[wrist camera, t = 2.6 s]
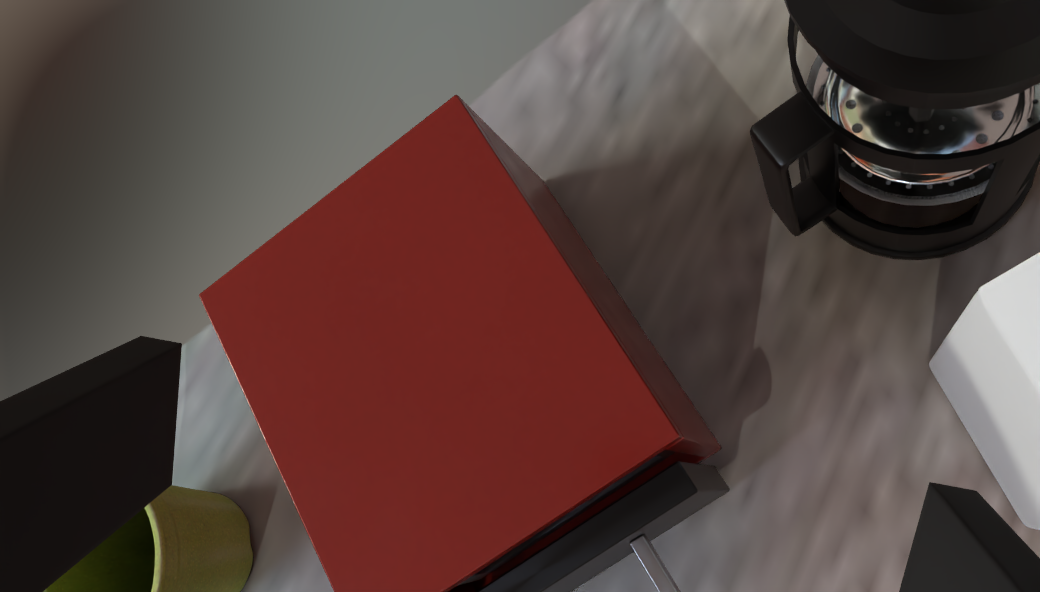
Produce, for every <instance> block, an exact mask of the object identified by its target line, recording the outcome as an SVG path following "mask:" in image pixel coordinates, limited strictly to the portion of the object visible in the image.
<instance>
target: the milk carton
mask: <svg viewBox="0 0 1040 592" xmlns="http://www.w3.org/2000/svg"><path fill="white" fill-rule="evenodd" d="M929 366H930V369H931V371H932V373H933V374H934V376H935V378H936V380H937V381H938V383H939V385H940V386H941V388H942V390H943V391H944V393H945V395H946V396H947V398H948V400H949V401H950V403H951V405H952V406H953V408H954V410H955V411H956V413H957V415H958V416H959V418H960V420H961V421H962V423H963V425H964V426H965V428H966V430H967V431H968V433H969V435H970V436H971V438H972V440H973V442H974V443H975V445H976V447H977V448H978V450H979V452H980V453H981V455H982V457H983V458H984V460H985V462H986V463H987V465H988V467H989V468H990V470H991V472H992V473H993V475H994V477H995V478H996V480H997V482H998V483H999V485H1000V487H1001V488H1002V490H1003V492H1004V493H1005V495H1006V497H1007V498H1008V500H1009V502H1010V503H1011V505H1012V507H1013V508H1014V510H1015V512H1016V513H1017V515H1018V516H1019V518H1020V519H1021V521H1022V522H1023V524H1024V525H1025V526H1027V527H1029V528H1033V529H1037V530H1040V252H1039V253H1038V254H1036V255H1034V256H1032V257H1031V258H1029V259H1027V260H1026V261H1024V262H1022V263H1020V264H1019V265H1017V266H1015V267H1014V268H1012V269H1010V270H1008V271H1007V272H1005V273H1003V274H1002V275H1000V276H998V277H997V278H995V279H993V280H991V281H990V282H988V283H986V284H985V285H983V286H981V287H980V288H979V290H978V291H977V293H976V294H975V295H974V296H973V298H972V299H971V301H970V302H969V304H968V305H967V307H966V308H965V310H964V311H963V313H962V314H961V316H960V317H959V319H958V320H957V322H956V323H955V325H954V326H953V328H952V329H951V331H950V332H949V334H948V335H947V337H946V338H945V339H944V341H943V342H942V344H941V345H940V347H939V348H938V350H937V351H936V353H935V354H934V356H933V357H932V359H931V360H930V362H929Z"/></svg>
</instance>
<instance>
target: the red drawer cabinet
mask: <svg viewBox="0 0 1040 592" xmlns="http://www.w3.org/2000/svg"><path fill="white" fill-rule="evenodd" d="M199 296H200V299H201V301H202V303H203V305H204V307H205V309H206V312H207V314H208V316H209V318H210V320H211V323H212V325H213V327H214V329H215V331H216V334H217V336H218V338H219V340H220V342H221V345H222V347H223V349H224V351H225V353H226V356H227V358H228V360H229V362H230V364H231V367H232V369H233V371H234V373H235V375H236V378H237V380H238V382H239V384H240V386H241V388H242V391H243V393H244V395H245V397H246V399H247V402H248V404H249V406H250V408H251V410H252V413H253V415H254V417H255V419H256V421H257V424H258V426H259V428H260V430H261V432H262V434H263V437H264V439H265V441H266V443H267V445H268V448H269V450H270V452H271V454H272V456H273V459H274V461H275V463H276V465H277V467H278V470H279V472H280V474H281V476H282V478H283V481H284V483H285V485H286V487H287V489H288V491H289V494H290V496H291V498H292V500H293V502H294V505H295V507H296V509H297V511H298V513H299V516H300V518H301V520H302V522H303V524H304V527H305V529H306V531H307V533H308V535H309V538H310V540H311V542H312V544H313V546H314V548H315V551H316V553H317V555H318V557H319V559H320V562H321V564H322V566H323V568H324V570H325V573H326V575H327V577H328V579H329V581H330V584H331V586H332V588H333V590H334V592H476V591H478V590H480V589H481V588H483V587H484V586H486V585H487V584H489V583H490V582H492V581H493V580H495V579H497V578H498V577H500V576H501V575H503V574H504V573H506V572H507V571H509V570H510V569H512V568H513V567H515V566H517V565H518V564H520V563H521V562H523V561H524V560H526V559H527V558H529V557H530V556H532V555H533V554H535V553H537V552H538V551H540V550H541V549H543V548H544V547H546V546H547V545H549V544H550V543H552V542H553V541H555V540H557V539H558V538H560V537H561V536H563V535H564V534H566V533H567V532H569V531H570V530H572V529H574V528H575V527H577V526H578V525H580V524H581V523H583V522H584V521H586V520H587V519H589V518H590V517H592V516H594V515H595V514H597V513H598V512H600V511H601V510H603V509H604V508H606V507H607V506H609V505H610V504H612V503H614V502H615V501H617V500H618V499H620V498H621V497H623V496H624V495H626V494H627V493H629V492H630V491H632V490H634V489H635V488H637V487H638V486H640V485H641V484H643V483H644V482H646V481H647V480H649V479H651V478H652V477H654V476H655V475H657V474H658V473H660V472H661V471H663V470H664V469H666V468H667V467H669V466H671V465H672V464H674V463H675V462H677V461H680V462H687V463H695V464H699V463H701V462H702V461H704V460H705V459H707V458H708V457H710V456H711V455H713V454H714V453H716V452H718V451H719V450H721V449H722V447H721V446H720V444H719V443H718V441H717V440H716V438H715V437H714V435H713V434H712V432H711V431H710V429H709V428H708V426H707V425H706V423H705V422H704V420H703V419H702V417H701V416H700V414H699V413H698V411H697V410H696V408H695V407H694V405H693V404H692V402H691V401H690V399H689V398H688V396H687V395H686V393H685V392H684V390H683V389H682V387H681V386H680V384H679V383H678V381H677V380H676V378H675V377H674V375H673V374H672V372H671V371H670V370H669V368H668V367H667V365H666V364H665V362H664V361H663V359H662V358H661V356H660V355H659V353H658V352H657V350H656V349H655V347H654V346H653V344H652V343H651V341H650V340H649V338H648V337H647V335H646V334H645V332H644V331H643V329H642V328H641V326H640V325H639V323H638V322H637V320H636V319H635V317H634V316H633V314H632V313H631V311H630V310H629V308H628V307H627V305H626V304H625V302H624V301H623V299H622V298H621V296H620V295H619V293H618V292H617V290H616V289H615V287H614V286H613V284H612V283H611V281H610V280H609V278H608V277H607V275H606V274H605V272H604V271H603V269H602V268H601V266H600V265H599V263H598V262H597V260H596V259H595V257H594V256H593V255H592V253H591V252H590V250H589V249H588V247H587V246H586V244H585V243H584V241H583V240H582V238H581V237H580V235H579V234H578V232H577V231H576V229H575V228H574V226H573V225H572V223H571V222H570V220H569V219H568V217H567V216H566V214H565V213H564V211H563V210H562V208H561V207H560V205H559V204H558V202H557V201H556V199H555V198H554V196H553V195H552V193H551V192H550V190H549V189H548V187H547V186H546V184H545V183H544V181H543V180H542V179H541V178H540V177H539V176H538V175H537V174H536V173H535V172H534V171H533V170H532V169H531V168H530V167H529V166H528V165H527V164H526V163H525V162H524V161H523V160H522V159H521V158H520V157H519V156H518V155H517V154H516V153H515V152H514V151H513V150H512V149H511V148H510V147H509V146H508V145H507V144H506V143H505V142H504V141H503V140H502V139H501V138H500V137H499V136H498V135H497V134H496V133H495V132H494V131H493V130H492V129H491V128H490V127H489V126H488V125H487V124H486V123H485V122H484V121H483V120H482V119H481V118H480V117H479V116H478V115H477V114H476V113H475V112H474V111H473V110H472V109H471V108H470V107H469V106H468V105H467V104H466V103H465V102H463V100H462V99H461V98H460V97H459V96H457V95H455V96H454V97H452V98H451V99H450V100H448V101H447V102H446V103H444V104H443V105H442V106H441V107H439V108H438V109H437V110H435V111H434V112H433V113H432V114H430V115H429V116H428V117H426V118H425V119H424V120H423V121H421V122H420V123H419V124H418V125H416V126H415V127H414V128H412V129H411V130H410V131H409V132H407V133H406V134H405V135H403V136H402V137H401V138H400V139H398V140H397V141H396V142H394V143H393V144H392V145H391V146H390V147H388V148H387V149H385V150H384V151H383V152H382V153H380V154H379V155H378V156H376V157H375V158H374V159H373V160H371V161H370V162H369V163H367V164H366V165H365V166H364V167H362V168H361V169H360V170H358V171H357V172H356V173H355V174H353V175H352V176H351V177H350V178H348V179H347V180H346V181H344V182H343V183H342V184H340V185H339V186H338V187H337V188H335V189H334V190H333V191H331V192H330V193H329V194H328V195H326V196H325V197H324V198H322V199H321V200H320V201H319V202H317V203H316V204H315V205H313V206H312V207H311V208H310V209H308V210H307V211H306V212H304V213H303V214H302V215H301V216H299V217H298V218H297V219H296V220H294V221H293V222H292V223H290V224H289V225H288V226H286V227H285V228H284V229H283V230H281V231H280V232H279V233H277V234H276V235H275V236H274V237H272V238H271V239H270V240H268V241H267V242H266V243H265V244H263V245H262V246H261V247H259V248H258V249H257V250H256V251H254V252H253V253H252V254H250V255H249V256H248V257H247V258H245V259H244V260H243V261H241V262H240V263H239V264H238V265H236V266H235V267H234V268H233V269H231V270H230V271H229V272H227V273H226V274H225V275H223V276H222V277H221V278H220V279H218V280H217V281H216V282H215V283H213V284H212V285H211V286H209V287H208V288H207V289H206V290H204V291H203V292H202V293H200V294H199ZM664 450H670V451H675V453H674V454H672V455H671V456H669V457H667V458H666V459H664V460H663V461H661V462H660V463H658V464H657V465H655V466H654V467H652V468H651V469H649V470H647V471H646V472H644V473H643V474H641V475H640V476H638V477H637V478H635V479H634V480H632V481H631V482H629V483H628V484H626V485H624V486H623V487H621V488H620V489H618V490H617V491H615V492H614V493H612V494H611V495H609V496H608V497H606V498H605V499H603V500H601V501H600V502H598V503H597V504H595V505H594V506H592V507H591V508H589V509H588V510H586V511H585V512H583V513H582V514H580V515H578V516H577V517H575V518H574V519H572V520H571V521H569V522H568V523H566V524H565V525H563V526H562V527H560V528H559V529H557V530H555V531H554V532H552V533H551V534H549V535H548V536H546V537H545V538H543V539H542V540H540V541H539V542H537V543H535V544H534V545H532V546H531V547H529V548H528V549H526V550H525V551H523V552H522V553H520V554H519V555H517V556H516V557H514V558H512V559H511V560H509V561H508V562H506V563H505V564H503V565H502V566H500V567H499V568H497V569H496V570H494V571H493V572H491V573H489V574H488V575H486V576H485V577H483V578H482V579H480V580H476V581H473V582H470V583H466V584H462V585H459V584H460V583H462V582H463V581H465V580H466V579H468V578H470V577H471V576H473V575H474V574H476V573H477V572H479V571H480V570H482V569H483V568H485V567H486V566H488V565H489V564H491V563H492V562H494V561H495V560H497V559H499V558H500V557H502V556H503V555H505V554H506V553H508V552H509V551H511V550H512V549H514V548H515V547H517V546H518V545H520V544H521V543H523V542H525V541H526V540H528V539H529V538H531V537H532V536H534V535H535V534H537V533H538V532H540V531H541V530H543V529H544V528H546V527H547V526H549V525H551V524H552V523H554V522H555V521H557V520H558V519H560V518H561V517H563V516H564V515H566V514H567V513H569V512H570V511H572V510H573V509H575V508H577V507H578V506H580V505H581V504H583V503H584V502H586V501H587V500H589V499H590V498H592V497H593V496H595V495H596V494H598V493H599V492H601V491H603V490H604V489H606V488H607V487H609V486H610V485H612V484H613V483H615V482H616V481H618V480H619V479H621V478H622V477H624V476H625V475H627V474H629V473H630V472H632V471H633V470H635V469H636V468H638V467H639V466H641V465H642V464H644V463H645V462H647V461H648V460H650V459H651V458H653V457H655V456H656V455H658V454H659V453H661V452H662V451H664ZM457 585H458V586H457Z"/></svg>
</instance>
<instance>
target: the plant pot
mask: <svg viewBox="0 0 1040 592" xmlns="http://www.w3.org/2000/svg"><path fill="white" fill-rule="evenodd" d="M252 562H253V552H252V549H251V544H250V534H249V523H248V520H247V518H246V516H245V515H244V513H243V512H242V510H241V509H240V508H239V507H238V506H237V505H236V504H235V503H234V502H233V501H232V500H231V499H229V498H227V497H225V496H223V495H221V494H217V493H213V492H207V491H201V490H195V489H189V488H183V487H178V486H172V485H171V486H170V487H169V488H167V489H166V490H165V491H164V492H163V493H161V494H160V495H159V496H158V497H157V498H155V499H154V500H153V501H152V502H151V503H149V504H148V505H147V506H146V507H144V508H143V509H142V510H141V511H140V512H138V513H137V514H136V515H135V516H134V517H132V518H131V519H130V520H129V521H128V522H126V523H125V524H124V525H123V526H122V527H120V528H119V529H118V530H117V531H115V532H114V533H113V534H112V535H111V536H109V537H108V538H107V539H106V540H105V541H103V542H102V543H101V544H100V545H99V546H97V547H96V548H95V549H94V550H93V551H91V552H90V553H89V554H88V555H86V556H85V557H84V558H83V559H82V560H80V561H79V562H78V563H77V564H76V565H74V566H73V567H72V568H71V569H70V570H68V571H67V572H66V573H65V574H64V575H62V576H61V577H60V578H59V579H58V580H56V581H55V582H54V583H53V584H51V585H50V586H49V587H48V588H47V589H45V590H44V591H43V592H240V591H241V590H242V588H243V587H244V585H245V583H246V581H247V579H248V576H249V573H250V570H251V567H252Z"/></svg>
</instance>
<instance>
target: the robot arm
mask: <svg viewBox="0 0 1040 592" xmlns="http://www.w3.org/2000/svg"><path fill="white" fill-rule="evenodd" d="M181 347H182V344H181V343H176V342H171V341H165V340H160V339H155V338H149V337H144V336H140V337H138V338H136V339H134V340H131V341H129V342H127V343H125V344H123V345H121V346H119V347H116V348H114V349H113V350H110V351H108V352H106V353H104V354H101V355H99V356H97V357H95V358H93V359H91V360H89V361H86V362H84V363H82V364H80V365H78V366H76V367H73V368H71V369H69V370H67V371H65V372H63V373H61V374H58V375H56V376H54V377H52V378H50V379H48V380H45V381H43V382H41V383H39V384H37V385H35V386H33V387H30V388H28V389H26V390H24V391H22V392H20V393H18V394H15V395H13V396H11V397H9V398H7V399H5V400H2V401H0V592H43V591H44V590H45V589H47V588H48V587H49V586H50V585H51V584H53V583H54V582H55V581H56V580H58V579H59V578H60V577H61V576H62V575H64V574H65V573H66V572H67V571H68V570H70V569H71V568H72V567H73V566H74V565H76V564H77V563H78V562H79V561H80V560H82V559H83V558H84V557H85V556H86V555H88V554H89V553H90V552H91V551H93V550H94V549H95V548H96V547H97V546H99V545H100V544H101V543H102V542H103V541H105V540H106V539H107V538H108V537H109V536H111V535H112V534H113V533H114V532H115V531H117V530H118V529H119V528H120V527H122V526H123V525H124V524H125V523H126V522H128V521H129V520H130V519H131V518H132V517H134V516H135V515H136V514H137V513H138V512H140V511H141V510H142V509H143V508H144V507H146V506H147V505H148V504H149V503H151V502H152V501H153V500H154V499H155V498H157V497H158V496H159V495H160V494H161V493H163V492H164V491H165V490H166V489H167V488H169V487H170V486H171V485H172V475H173V460H174V446H175V432H176V418H177V404H178V390H179V376H180V361H181ZM899 592H1040V558H1039V557H1038V556H1037V555H1036V554H1035V553H1034V552H1033V551H1032V550H1031V549H1030V548H1029V547H1028V545H1027V544H1026V543H1025V542H1024V541H1023V540H1022V539H1021V538H1020V537H1019V536H1018V535H1017V534H1016V533H1015V532H1014V531H1013V529H1012V528H1011V527H1010V526H1009V525H1008V524H1007V523H1006V522H1005V521H1004V520H1003V519H1002V518H1001V517H1000V516H999V515H998V513H997V512H996V511H995V510H994V509H993V508H992V507H991V506H990V505H989V504H988V503H987V502H986V501H985V500H984V499H983V497H982V496H981V495H980V494H979V493H978V492H977V491H974V490H969V489H963V488H958V487H953V486H947V485H942V484H936V483H931V482H929V486H928V490H927V493H926V497H925V500H924V504H923V508H922V511H921V515H920V518H919V522H918V526H917V529H916V533H915V537H914V540H913V544H912V547H911V551H910V555H909V558H908V562H907V565H906V569H905V573H904V576H903V580H902V583H901V587H900V591H899Z"/></svg>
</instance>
